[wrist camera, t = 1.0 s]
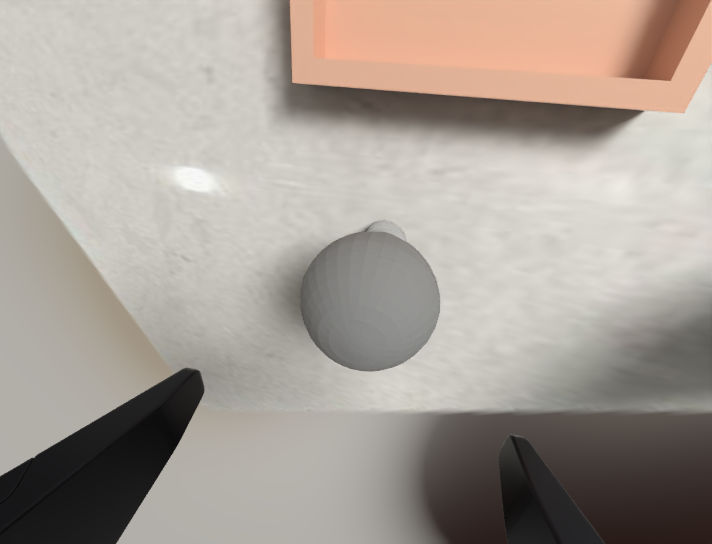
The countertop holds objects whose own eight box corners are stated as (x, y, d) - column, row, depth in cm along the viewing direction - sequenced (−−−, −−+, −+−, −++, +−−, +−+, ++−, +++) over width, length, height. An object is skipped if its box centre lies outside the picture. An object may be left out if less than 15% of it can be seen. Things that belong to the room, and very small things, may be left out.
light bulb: (324, 210, 19) (246, 299, 11) (417, 175, 17) (411, 251, 9) (361, 287, 22) (320, 411, 13) (446, 265, 20) (463, 395, 11)
